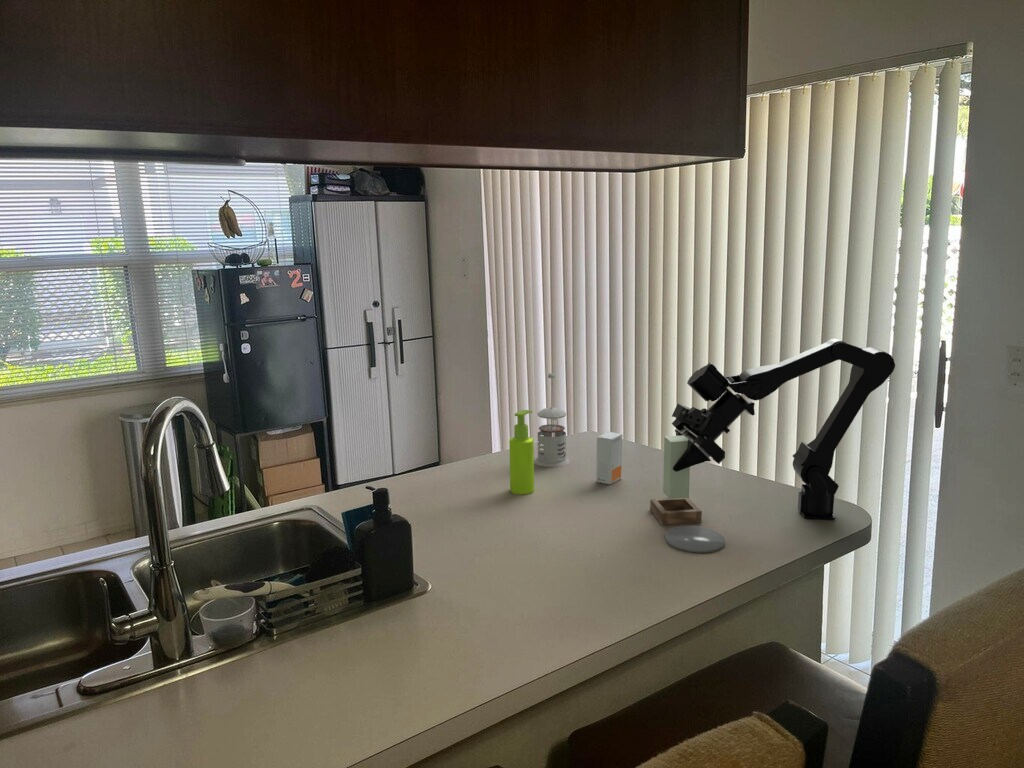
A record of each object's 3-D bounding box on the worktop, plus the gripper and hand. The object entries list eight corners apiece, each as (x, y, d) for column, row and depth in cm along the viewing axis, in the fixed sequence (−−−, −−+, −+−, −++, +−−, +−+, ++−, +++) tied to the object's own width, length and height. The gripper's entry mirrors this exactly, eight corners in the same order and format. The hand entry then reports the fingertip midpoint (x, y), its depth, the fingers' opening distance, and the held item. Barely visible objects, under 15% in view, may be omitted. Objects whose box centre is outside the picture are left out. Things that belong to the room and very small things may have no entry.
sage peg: (682, 490, 163) (683, 435, 161) (688, 497, 159) (690, 440, 156) (663, 492, 163) (664, 436, 160) (669, 499, 159) (670, 442, 156)
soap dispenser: (540, 487, 181) (539, 410, 177) (526, 496, 176) (524, 416, 171) (520, 483, 184) (519, 407, 180) (505, 492, 179) (504, 413, 174)
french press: (532, 466, 198) (530, 376, 192) (537, 453, 209) (536, 368, 204) (568, 467, 196) (567, 377, 191) (571, 454, 207) (571, 368, 202)
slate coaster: (720, 529, 154) (720, 527, 154) (728, 554, 142) (728, 551, 142) (663, 527, 156) (663, 524, 156) (666, 551, 144) (666, 548, 144)
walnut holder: (687, 506, 167) (687, 496, 166) (701, 521, 158) (701, 511, 158) (650, 509, 166) (650, 498, 165) (662, 524, 157) (662, 513, 157)
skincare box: (610, 485, 182) (611, 439, 179) (595, 482, 184) (596, 436, 182) (622, 478, 187) (622, 433, 184) (607, 475, 189) (608, 431, 187)
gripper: (681, 382, 166) (633, 431, 167) (712, 401, 148) (659, 456, 149) (713, 414, 168) (666, 462, 169) (748, 436, 150) (695, 490, 151)
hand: (670, 466), depth 160 cm, fingers closed on sage peg, 4 cm apart
